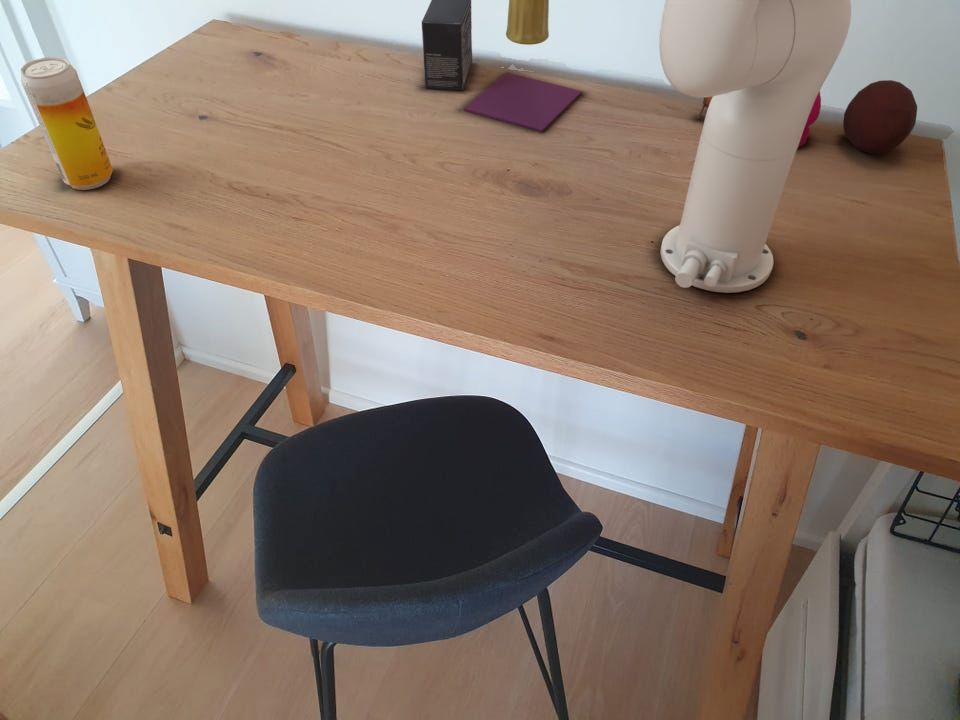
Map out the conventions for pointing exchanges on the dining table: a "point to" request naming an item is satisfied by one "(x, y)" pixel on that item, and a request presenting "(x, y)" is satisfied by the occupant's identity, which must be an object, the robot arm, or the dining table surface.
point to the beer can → (66, 122)
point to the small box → (447, 44)
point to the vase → (528, 21)
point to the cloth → (523, 101)
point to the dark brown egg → (880, 116)
